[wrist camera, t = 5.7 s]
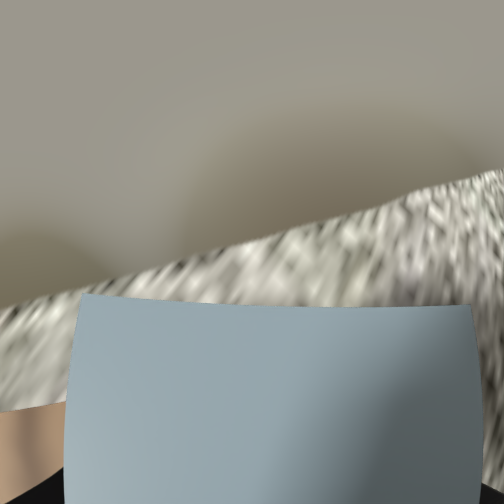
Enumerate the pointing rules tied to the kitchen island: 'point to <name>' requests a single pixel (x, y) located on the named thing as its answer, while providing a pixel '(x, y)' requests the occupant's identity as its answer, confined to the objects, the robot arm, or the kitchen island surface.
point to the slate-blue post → (272, 404)
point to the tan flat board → (30, 447)
